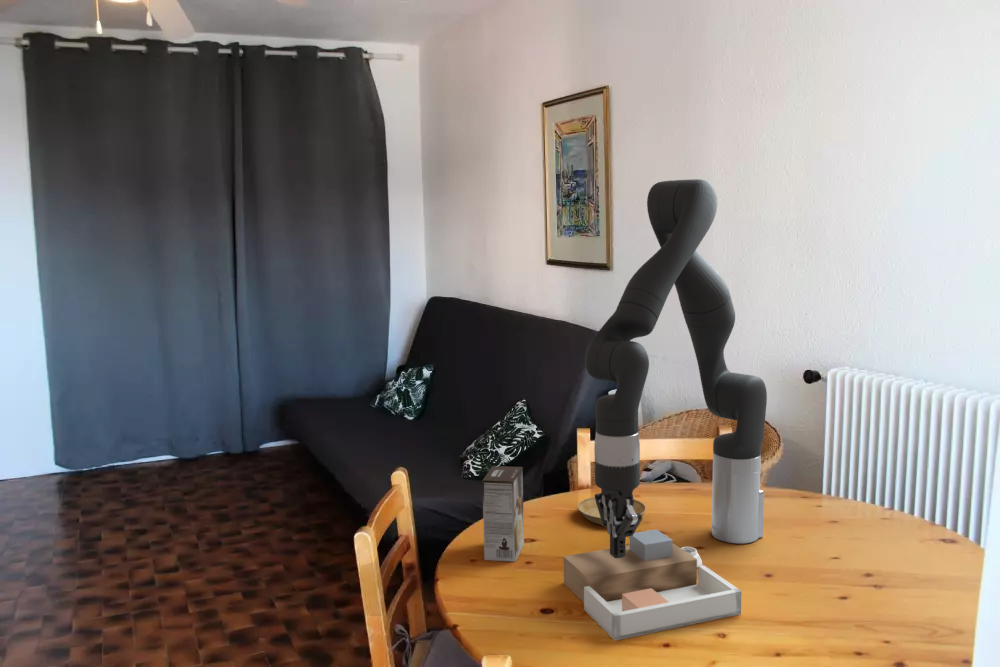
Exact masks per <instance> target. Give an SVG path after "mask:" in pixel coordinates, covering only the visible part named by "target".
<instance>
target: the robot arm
mask: <svg viewBox="0 0 1000 667" xmlns="http://www.w3.org/2000/svg"><path fill="white" fill-rule="evenodd" d="M647 194H648V195H647V198H646V199H647V200H646V207H647V208H646V209H647V214H648V220H649V222H650V226H651V228H652V230H653V232H654V234H655V238H656V240H657V242H658V244H659V246H660V248H659V249H658V250H657V252H655V253H654V254H653V255H652V256H651V257H650V258H649V259H648V260H647V261H645V262H644V264H642V265H641V266H640V267H639V268H638V270H636V272H635V273H634V274H633V275H632V277H631V278H630V279H629V281H628V282H627V284H626V287H625V288H624V291H623V293H622V296H621V297H620V300H619V302H618V304H617V307H616V309H615V310H614V312H613V313H612V315H610V317H609V318H608V319H607V320H606V321H605V323H604V324H603V326H601V327H600V329H599V330H598V331H597V332H596V334H595V335H594V337H593V338H592V339H591V341H590V343H589V344H588V345H587V348H586V352H585V356H584V365H585V370H586V371H587V373H588V375H589V376H590V377H592V378H593V379H596V380H598V381H605V382H610V383H617V387H616V390H615V392H614V393H612V394H606V395H602V396H601V397H599V398H598V399H597V401H596V404H595V438H594V444H593V445H594V448H593V449H594V450H593V451H594V453H593V454H594V484H595V486H597V487H598V488H600V489H601V492H600V493H595V494H594V497H595V500H596V504H597V507H598V510H599V514H600V517H601V520H602V524H603V525H602V526H603V528H606V530H607V531H606V532H607V534H608V535H609V549H610V554H611V555H612V556H613V557H614V558H622V557H624V556H625V546H626V538H628V537H629V538H630V536H633V534H634V533H636V531H637V529H638V527H639V526H640V525H641V524H640V523H641V522H642V520H643V515H641V514H640V513H637V514H636V513H635V511H634V509H633V506H634V499H635V498H634V493H633V492H634V490H635V489H636V488H638V487H639V486H640V483H641V460H640V459H641V447H640V446H641V442H640V437H639V436H640V435H639V408H640V402H641V398H642V395H643V392H644V387H645V384H646V381H647V376H648V374H649V371H650V370H649V369H650V359H649V355H648V353H647V350H646V349H645V346H644V345H643V344H641V343H639V342H637V341H633V339H637V338H643V337H647V336H648V335H650V334H651V333H652V332H653V331H654V329H655V327H656V324H657V322H658V320H659V317H660V316H661V313H662V311H663V308H664V305H665V304H666V301H667V298H668V296H669V294H670V293H671V291H672V288H673V286H675V290H676V293H677V297H678V301H679V305H680V308H681V311H682V315H683V318H684V321H685V324H686V327H687V330H688V333H689V336H690V339H691V342H692V347H693V350H694V353H695V358H696V360H697V366H698V372H699V378H700V384H701V387H702V393H703V398H704V401H705V404H706V407H707V409H708V411H709V412H710V413H711V414H712V415H713V416H716V417H717V418H721V419H728V420H732V421H736V428H735V431H734V432H733V431H732V432H728V433H727V432H726V433H723V434H720V435H719V434H718V436H716V437H715V438H714V440H713V443H712V444H713V445H712V484H711V485H712V487H711V488H712V489H711V490H712V491H711V493H712V494H711V495H712V496H711V535H712V537H713V538H714V539H717V540H718V541H721V542H725V543H730V544H749V543H754V542H756V541H758V539H759V538H763V537H764V508H765V507H764V506H765V492H764V490H762V489H761V462H762V461H761V459H762V446H763V442H764V439H765V438H764V437H765V429H766V428H765V425H766V414H767V413H766V412H767V404H768V403H767V402H768V401H767V400H768V395H767V393H768V392H767V387H766V384H765V382H764V380H763V378H761V377H760V376H756V375H752V374H744V373H739V372H738V373H737V372H736V373H735V372H731V371H730V370H729V369H728V367H727V364H726V360H725V355H724V350H725V347H726V345H727V343H728V341H729V339H730V336H731V334H732V332H733V328H734V326H735V323H736V311H735V307H734V304H733V301H732V297H731V296H732V295H731V292H730V290H729V287H728V284H727V283H726V281H725V280H724V278H723V277H722V276H721V274H720V272H718V271H717V270H716V269H715V267H713V266H712V264H711V263H710V262H709V261H707V260H706V259H705V258H704V256H703V255H702V254H701V253H700V251H699V250H698V249H697V248H698V247H699V245H700V244H701V242H702V241H703V239H704V237H705V236H706V235H707V233H708V231H709V230H710V228H711V226H712V224H714V223H713V222H714V220H715V217H716V214H717V211H718V196H717V191H716V189H715V188H714V186H713V185H712V183H711V182H709V181H708V180H704V179H700V178H699V179H697V178H696V179H693V178H692V179H677V180H676V179H675V180H663V181H662V180H661V181H658V182H657V183H654V184H653V185H652V186H651V187H650V189H649V191H648V193H647Z"/></svg>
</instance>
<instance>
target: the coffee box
mask: <svg viewBox="0 0 1000 667" xmlns="http://www.w3.org/2000/svg"><path fill="white" fill-rule="evenodd" d="M523 469H524V466H502V465H501V466H496V465H495V466H494V465H493V466H491V467H490V468H489V471H488V472H487V473H486V475H485V476H484V477H483V479H482V483H481V484H482V515H483V516H482V517H483V554H484V555H483V556H484V557H483V558H484V560H485V561H495V562H496V561H498V562H510V563H511V562H512V563H513V562H514V563H515V562H516V561H517V559H518V557H519V555H520V554H521V551H522V548H523V546H524V544H525V533H524V532H525V528H524V527H525V522H524V521H525V520H524V515H525V514H524V476H523V472H524V470H523Z"/></svg>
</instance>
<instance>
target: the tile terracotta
mask: <svg viewBox="0 0 1000 667" xmlns="http://www.w3.org/2000/svg"><path fill="white" fill-rule="evenodd" d="M667 602H668V601H667V600H666V599H665V598H663V597H662V596H661V595H659V594H658V593H657V592H656V591H654V590H653V589H652V588H650V589H645V590H640V591H635V592H630V593H625V594H622V611H627V610H632V609H637V608H642V607H647V606H652V605H657V604H662V603H667Z"/></svg>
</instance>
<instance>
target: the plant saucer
mask: <svg viewBox="0 0 1000 667" xmlns="http://www.w3.org/2000/svg"><path fill="white" fill-rule="evenodd" d="M577 509H578V511H579V512H580V513H581V515H582V516H583V517H584V518H586V519H587V520H588V521H589V522H591V523H593V524H595V525H600V526H603V524H602V520H601V517H600V514H599V510H598V507H597V504H596V500H595V496H592V497H588V498H584V499H582V500H580V501H579V502H578V504H577ZM633 509H634V511H635V513H636V514H637V513H640V514H641V515H642V516H644V514H645V512H646V511H647V506H646V504H645V503H643V501H642V502H641V501H640V500H638V499H635V498H634V506H633Z"/></svg>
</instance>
